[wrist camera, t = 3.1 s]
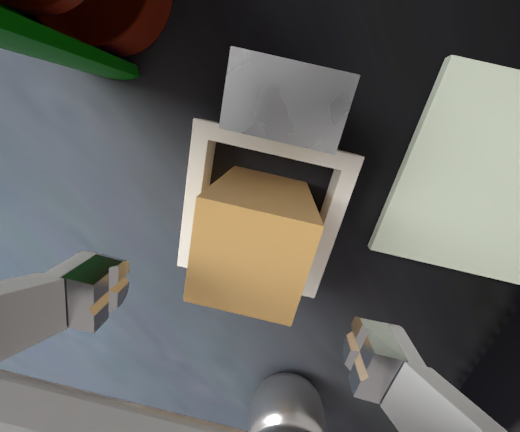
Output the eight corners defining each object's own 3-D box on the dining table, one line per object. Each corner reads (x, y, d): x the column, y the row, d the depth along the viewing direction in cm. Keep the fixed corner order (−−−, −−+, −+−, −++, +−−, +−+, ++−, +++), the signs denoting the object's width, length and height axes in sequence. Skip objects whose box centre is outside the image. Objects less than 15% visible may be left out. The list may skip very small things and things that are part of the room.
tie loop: (210, 66, 15) (166, 31, 9) (372, 103, 15) (426, 89, 9) (187, 252, 20) (148, 303, 14) (311, 281, 19) (322, 344, 14)
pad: (445, 57, 14) (452, 54, 13) (659, 105, 14) (675, 104, 13) (367, 245, 18) (370, 249, 17) (530, 284, 18) (538, 289, 17)
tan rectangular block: (234, 165, 17) (196, 196, 9) (306, 182, 17) (324, 226, 9) (223, 230, 19) (182, 300, 11) (288, 246, 19) (290, 326, 11)
